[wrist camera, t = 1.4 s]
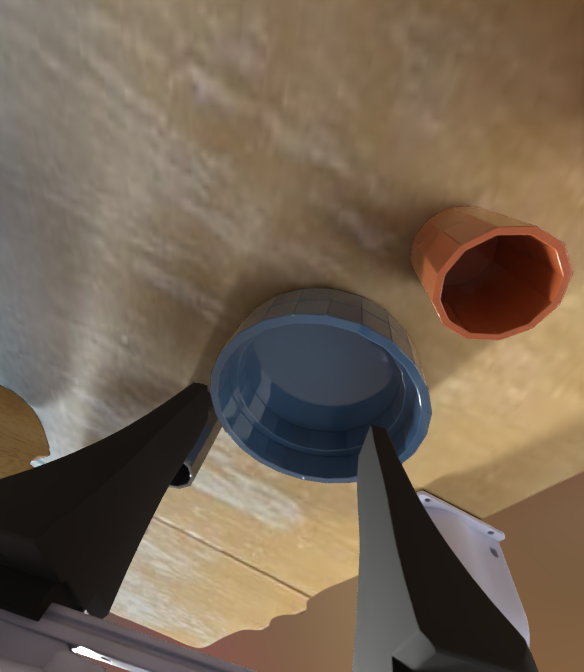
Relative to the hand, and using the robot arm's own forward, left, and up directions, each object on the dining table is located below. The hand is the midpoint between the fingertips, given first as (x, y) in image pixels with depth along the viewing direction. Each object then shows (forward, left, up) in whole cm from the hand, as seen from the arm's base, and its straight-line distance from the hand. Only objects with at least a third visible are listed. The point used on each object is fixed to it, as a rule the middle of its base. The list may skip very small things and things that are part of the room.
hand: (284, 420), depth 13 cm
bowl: (-3, +4, -10) cm, 11 cm away
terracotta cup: (-5, -8, -10) cm, 14 cm away
